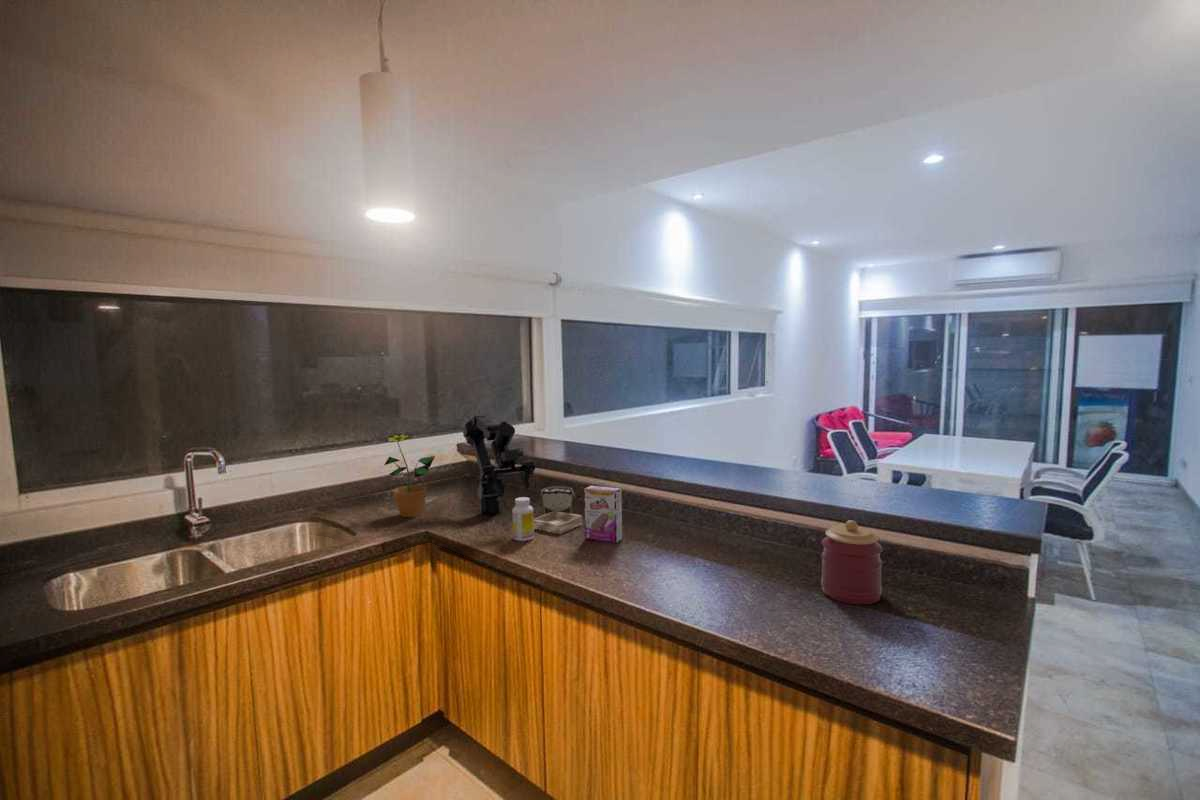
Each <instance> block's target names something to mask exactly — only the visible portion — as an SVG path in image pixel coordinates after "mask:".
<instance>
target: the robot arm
mask: <svg viewBox="0 0 1200 800" xmlns="http://www.w3.org/2000/svg"><path fill="white" fill-rule="evenodd" d="M515 433H516V429H515V427H514V426H513V425H512V424H510V423H508V421H506V420H504V421H500V423H499V422H493V421H492V420H490V419H489V418H487V416H486V415H483V414H482V415H474V416H472V418H471V419H470V420H469V421H468V422H467V423H465V424H464V427H463V429H462V435H463V437H464V438H465V441H466V443H467V444H468V445H470V446H471V447H472V449H473V452H474V456H475V459H476V462H477V465H478V469H479V471H480V472H479V476H478V477H479V485H478V489H477V491H476V493H477V497H478V498H479V499H480V504H481V506H480V507H481V512H480V513H479V515H480V516H498V514H500V513H502V512H503V507H502V500H501V497H504V493H505V482H504V480H503V478H502V476H501V475H509V474H510V475H511V474H517V473H519V474H520V476H521V481H522V483H523V487H524V489H525V491H526V492H528V491H529V485H530V484H529V483H530V477H531V476H532V475H533V474H534V472H535V471H536V467H537V465H536V462H535V461H534V460H528V461H526V460H525V461H522V464H521V465H520V466H519V465H518V460H519V459H521V458H522V457H524V451H523V449H522V447H516V448H515V449H510V446H509V445H511V443H512V440H513V438H514V435H515ZM485 440H486V441H487V442H491V443H490V447H491V448H490V451H491V452H492V454H493V457H494V460H495V461H494V464H495V465H496V467H497V468H495V466H494V465H493V464H492V461H491V459H490V454H489V452H488V449H487V447H486V443H485ZM516 465H518V466H516ZM478 498H477V499H478Z"/></svg>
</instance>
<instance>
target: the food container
mask: <svg viewBox="0 0 1200 800" xmlns="http://www.w3.org/2000/svg"><path fill="white" fill-rule="evenodd" d="M540 496H541V498H542V505H543V512H544V515H545V514H547V513H550V512H552V511H558V512H564V513H570V514H572V504H573V496H575V493H574V489H573V488H572V487H569V486H561V485H560V486H559V485H558V486H549V487H545V488H542V489H541V491H540Z"/></svg>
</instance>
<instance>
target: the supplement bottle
mask: <svg viewBox="0 0 1200 800" xmlns="http://www.w3.org/2000/svg"><path fill="white" fill-rule="evenodd" d="M514 499H515V500H514V504H515V506H514V507H513V508H512V510H511V511H512V512H511V513H512V534H513V539H514V540H515V541H517V540H518V541H517V542H527V540H528V541H531V540H533V539H534V538H535V529H534V519H535V517H534V516H535V514H534V507H533V506H532V505H530V503H531V500H530V497H527V496H522V497H521V496H519V497H516V498H514Z"/></svg>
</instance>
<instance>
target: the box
mask: <svg viewBox="0 0 1200 800" xmlns="http://www.w3.org/2000/svg"><path fill="white" fill-rule="evenodd" d="M583 524H584V523H583V515H581V514H574V513H571V514H570V513H564V512H558V511H552V512H550V513H547V514H545V513H544V514H543V515H540V516H538V517H534V530H537V529H539V530H538V531H542V530H543V532H546V531H547V533H551V532H552V534H556V533H557V535H562V533H563V534H565V533H567V532H569V531H572V530H573V529H575V527H576V528H577V527H580V526H583ZM564 532H565V533H564Z"/></svg>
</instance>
